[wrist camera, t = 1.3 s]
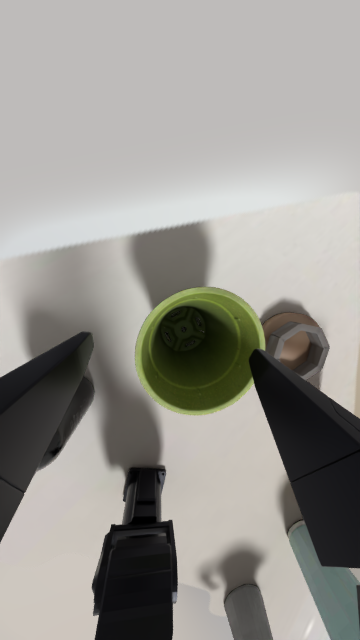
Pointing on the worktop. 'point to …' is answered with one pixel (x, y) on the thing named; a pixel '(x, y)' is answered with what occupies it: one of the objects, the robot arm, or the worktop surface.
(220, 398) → the plant pot
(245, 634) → the coffeepot
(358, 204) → the worktop surface
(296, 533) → the disposable coffee cup
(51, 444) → the supplement bottle
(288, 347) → the brown grey round base
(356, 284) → the worktop surface
